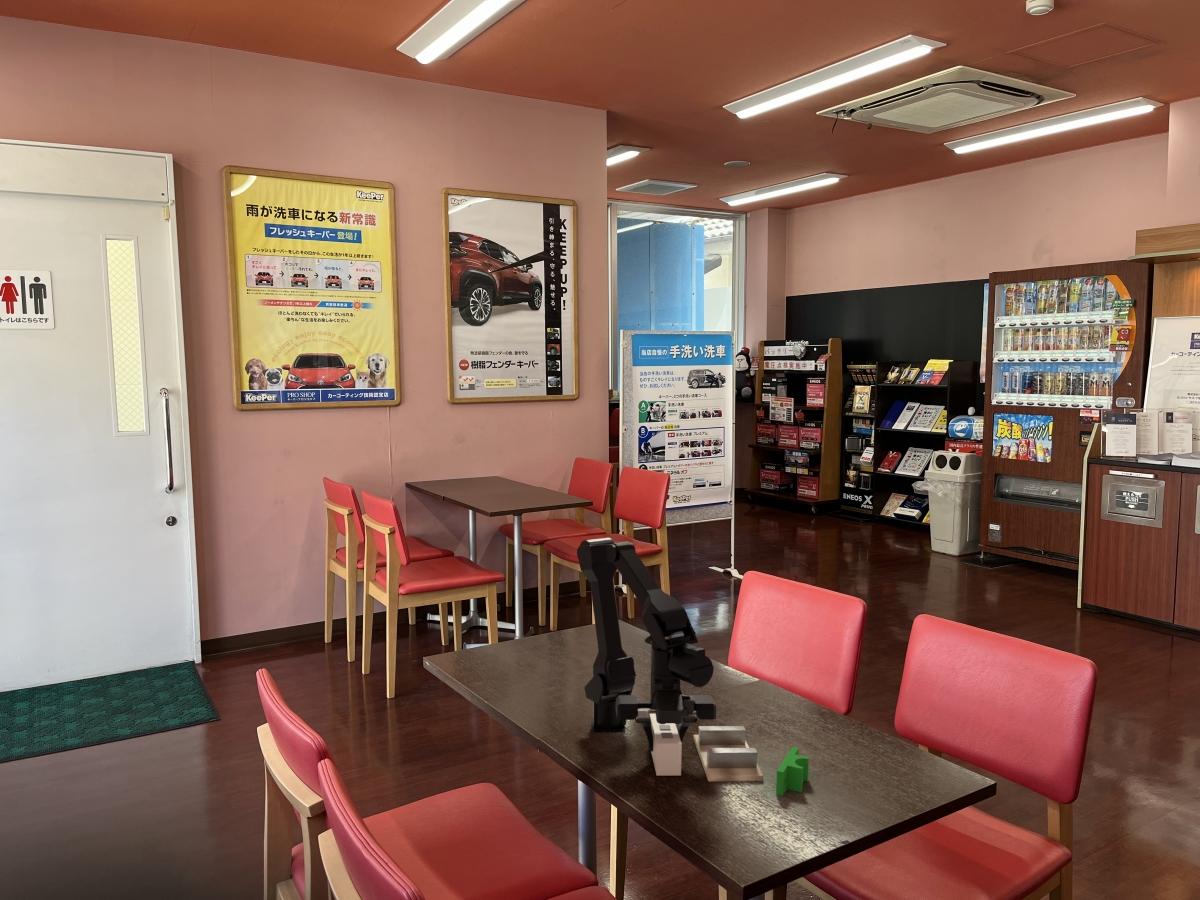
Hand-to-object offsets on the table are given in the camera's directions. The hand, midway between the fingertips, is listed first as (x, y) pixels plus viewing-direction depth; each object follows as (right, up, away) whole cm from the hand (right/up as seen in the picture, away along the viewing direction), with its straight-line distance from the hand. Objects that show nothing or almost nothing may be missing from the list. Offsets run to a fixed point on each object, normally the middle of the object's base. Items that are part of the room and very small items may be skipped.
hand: (664, 750), depth 161 cm
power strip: (0, -2, 0) cm, 2 cm away
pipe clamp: (+23, -3, -9) cm, 25 cm away
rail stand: (+12, -2, +1) cm, 12 cm away
